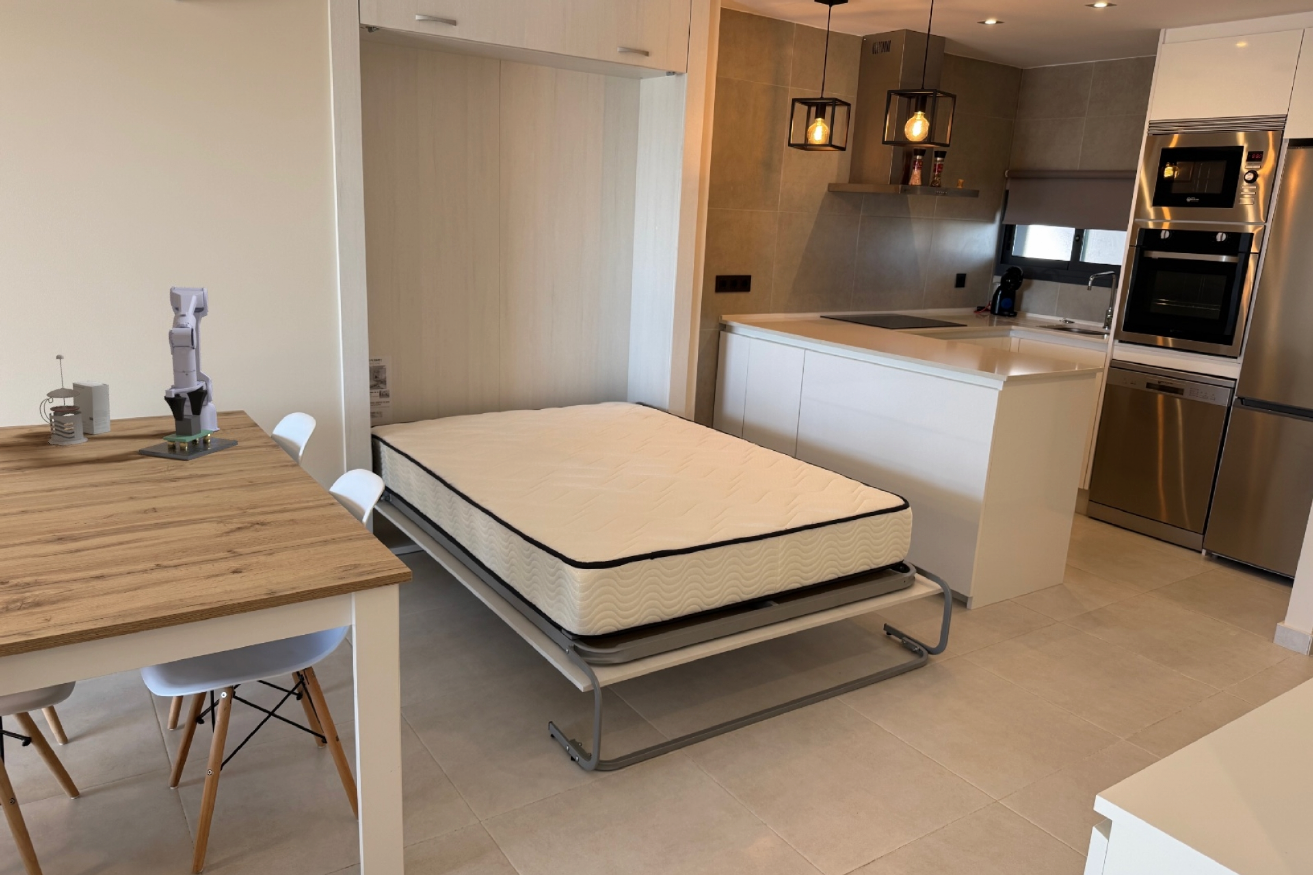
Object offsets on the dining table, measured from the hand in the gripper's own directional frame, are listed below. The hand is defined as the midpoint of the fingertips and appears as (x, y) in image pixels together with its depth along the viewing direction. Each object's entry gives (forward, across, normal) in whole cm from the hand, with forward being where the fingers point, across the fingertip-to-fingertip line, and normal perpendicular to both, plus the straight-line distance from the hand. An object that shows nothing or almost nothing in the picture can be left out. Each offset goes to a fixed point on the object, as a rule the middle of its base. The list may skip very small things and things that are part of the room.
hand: (187, 417), depth 255 cm
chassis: (+9, 0, 0) cm, 9 cm away
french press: (+9, +4, -36) cm, 38 cm away
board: (+5, 0, 0) cm, 5 cm away
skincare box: (+10, -8, -37) cm, 39 cm away
